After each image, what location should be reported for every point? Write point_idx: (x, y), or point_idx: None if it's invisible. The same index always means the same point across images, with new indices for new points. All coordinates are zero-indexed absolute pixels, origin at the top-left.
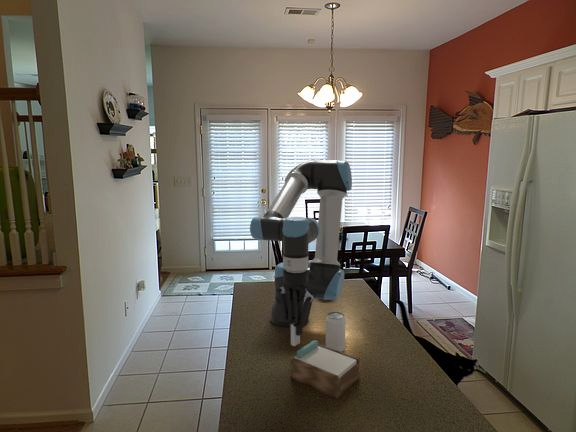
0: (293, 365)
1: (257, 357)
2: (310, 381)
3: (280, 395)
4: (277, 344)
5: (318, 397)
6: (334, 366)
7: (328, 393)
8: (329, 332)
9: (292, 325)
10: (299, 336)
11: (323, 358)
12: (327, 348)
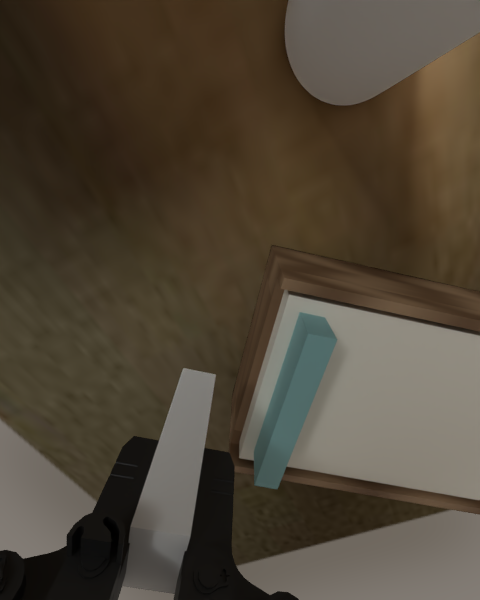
0: None
1: (26, 326)
2: None
3: None
4: (4, 163)
5: None
6: (459, 451)
7: None
8: (374, 53)
9: (147, 585)
10: (208, 415)
11: (391, 414)
12: (395, 312)
